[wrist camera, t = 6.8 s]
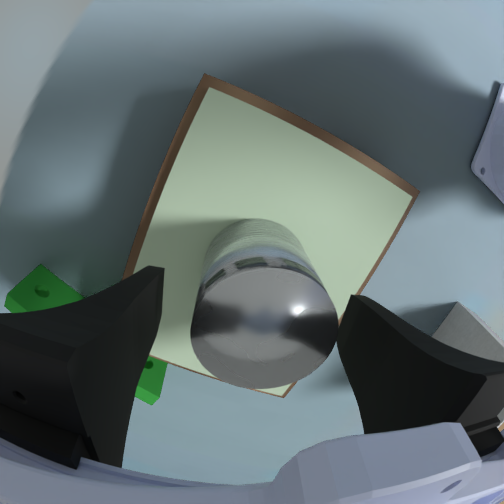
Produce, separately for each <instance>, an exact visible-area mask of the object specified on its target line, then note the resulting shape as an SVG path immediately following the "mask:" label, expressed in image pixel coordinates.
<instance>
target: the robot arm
mask: <svg viewBox="0 0 504 504" xmlns="http://www.w3.org/2000/svg"><path fill="white" fill-rule="evenodd" d="M481 168H482V171H481V172H480V170H481ZM471 169H472V171H473V173H474V174H475V175H476V176H477V177H479V178H480V180H481V181H482V182H483V183H484V184H485V185H486V186H487V187H488V188H489V189H490V190H491V191H492V192H493V193H494V194H495V195H496V196H497V197H498V198H499V199H500V201H501V202H502V203H503V204H504V83H502V84H501V85H500V88H499V91H498V95H497V98H496V101H495V104H494V107H493V110H492V113H491V115H490V118H489V121H488V124H487V126H486V129H485V132H484V134H483V137H482V139H481V142H480V144H479V147H478V149H477V152H476V154H475V156H474V159H473V161H472V164H471ZM164 272H165V268H162V267H156V266H150V265H148V266H146V267H144V268H143V269H141V270H139V271H138V272H136V273H134V274H133V275H131V276H129V277H128V278H126V279H124V280H122V281H121V282H119V283H117V284H115V285H113V286H111V287H109V288H107V289H105V290H103V291H101V292H99V293H97V294H94V295H92V296H90V297H87V298H84V299H82V300H79V301H76V302H72V303H69V304H65V305H61V306H58V307H54V308H49V309H44V310H37V311H30V312H20V313H0V504H499V503H501V502H502V501H503V500H504V429H503V430H502V431H501V432H500V431H499V430H498V428H497V426H499V424H500V420H499V418H498V417H497V416H498V414H499V413H500V412H501V411H502V409H503V408H504V362H499V361H494V360H489V359H485V358H482V357H478V356H475V355H472V354H469V353H466V352H463V351H461V350H458V349H456V348H453V347H451V346H449V345H446V344H444V343H442V342H440V341H438V340H436V339H434V338H432V337H430V336H428V335H427V334H425V333H423V332H421V331H420V330H418V329H417V328H415V327H413V326H412V325H410V324H409V323H407V322H405V321H404V320H402V319H401V318H399V317H398V316H396V315H395V314H393V313H392V312H391V311H389V310H388V309H386V308H385V307H383V306H382V305H380V304H378V303H377V302H375V301H374V300H372V299H370V298H368V297H366V296H362V295H353V294H351V296H350V298H349V301H348V304H347V307H346V309H345V312H344V315H343V317H342V320H341V323H340V325H339V330H338V336H337V340H336V342H337V347H338V351H339V355H340V358H341V361H342V364H343V366H344V369H345V371H346V374H347V377H348V379H349V382H350V384H351V387H352V389H353V392H354V395H355V397H356V400H357V403H358V406H359V410H360V415H361V419H362V423H363V428H364V434H363V435H351V436H347V437H342V438H337V439H332V440H326V441H323V442H321V443H318V444H316V445H314V446H312V447H309V448H307V449H304V450H302V451H300V452H299V453H297V454H296V455H295V456H294V457H293V458H292V459H291V460H289V461H288V462H287V463H286V464H285V465H284V466H283V467H282V468H281V469H280V471H279V472H278V474H277V476H276V477H275V479H274V480H273V482H264V483H256V484H246V485H228V484H215V483H204V482H195V481H187V480H180V479H173V478H167V477H161V476H155V475H150V474H145V473H140V472H136V471H131V470H127V469H123V468H122V461H123V454H124V447H125V441H126V435H127V430H128V425H129V420H130V415H131V410H132V406H133V401H134V397H135V393H136V389H137V386H138V383H139V379H140V377H141V374H142V372H143V369H144V367H145V364H146V361H147V359H148V356H149V354H150V351H151V349H152V346H153V344H154V341H155V339H156V336H157V332H158V328H159V324H160V320H161V316H162V303H163V286H164Z"/></svg>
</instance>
